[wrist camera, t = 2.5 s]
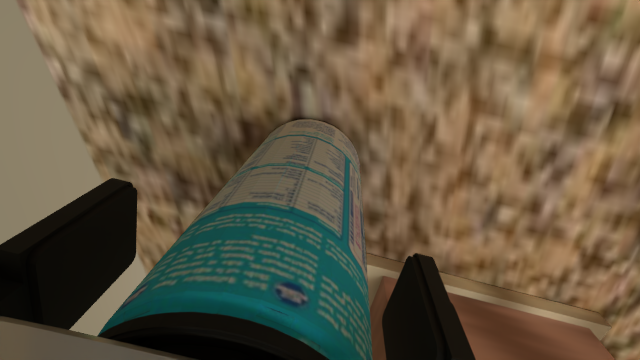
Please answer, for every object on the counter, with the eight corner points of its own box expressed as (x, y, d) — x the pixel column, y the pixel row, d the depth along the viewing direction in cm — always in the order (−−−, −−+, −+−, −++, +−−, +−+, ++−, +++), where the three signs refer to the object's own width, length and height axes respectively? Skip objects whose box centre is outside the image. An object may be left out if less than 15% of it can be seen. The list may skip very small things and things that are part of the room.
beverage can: (255, 198, 21) (71, 499, 7) (268, 105, 19) (31, 290, 5) (347, 218, 21) (338, 559, 7) (371, 128, 19) (428, 378, 5)
